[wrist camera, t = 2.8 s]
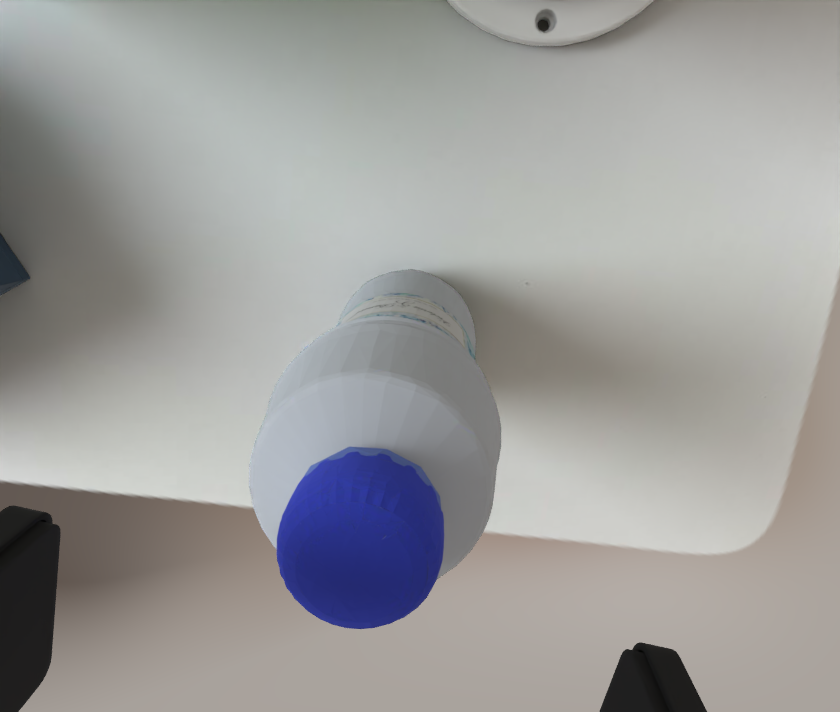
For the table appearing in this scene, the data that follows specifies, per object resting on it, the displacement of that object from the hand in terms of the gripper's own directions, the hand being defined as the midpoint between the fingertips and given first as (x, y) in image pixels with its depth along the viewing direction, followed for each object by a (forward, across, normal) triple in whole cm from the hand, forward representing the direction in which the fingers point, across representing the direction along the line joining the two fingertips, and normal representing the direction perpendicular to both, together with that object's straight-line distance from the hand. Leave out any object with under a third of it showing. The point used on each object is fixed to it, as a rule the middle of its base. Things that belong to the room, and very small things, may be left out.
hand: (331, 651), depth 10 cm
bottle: (+22, 0, 0) cm, 22 cm away
